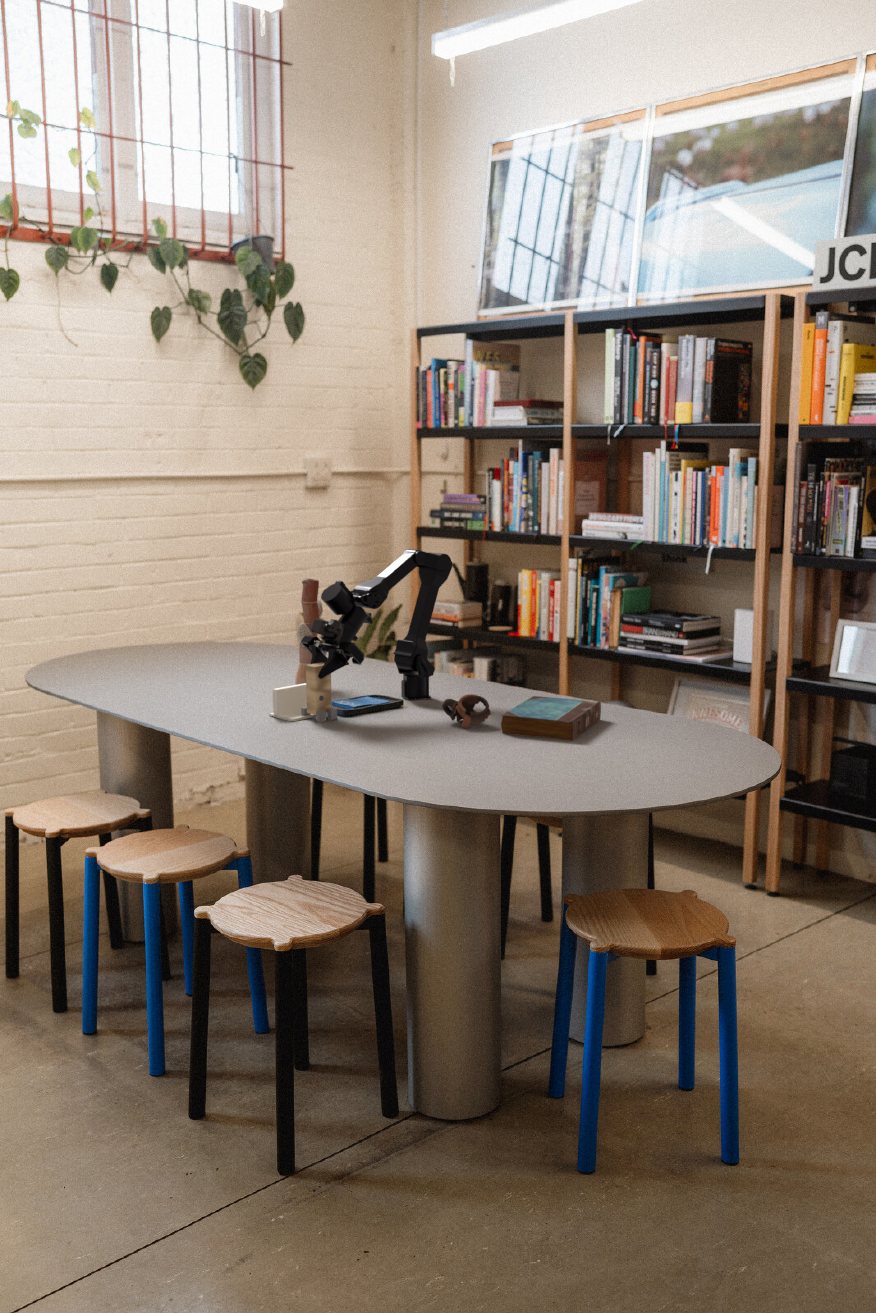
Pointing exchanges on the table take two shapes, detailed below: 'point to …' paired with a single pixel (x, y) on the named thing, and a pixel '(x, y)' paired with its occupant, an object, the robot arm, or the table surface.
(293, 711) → the cream board with pegs
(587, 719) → the book
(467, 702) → the brown looped piece
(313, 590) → the reddish-brown tall column
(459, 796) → the table surface
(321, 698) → the wooden building block
